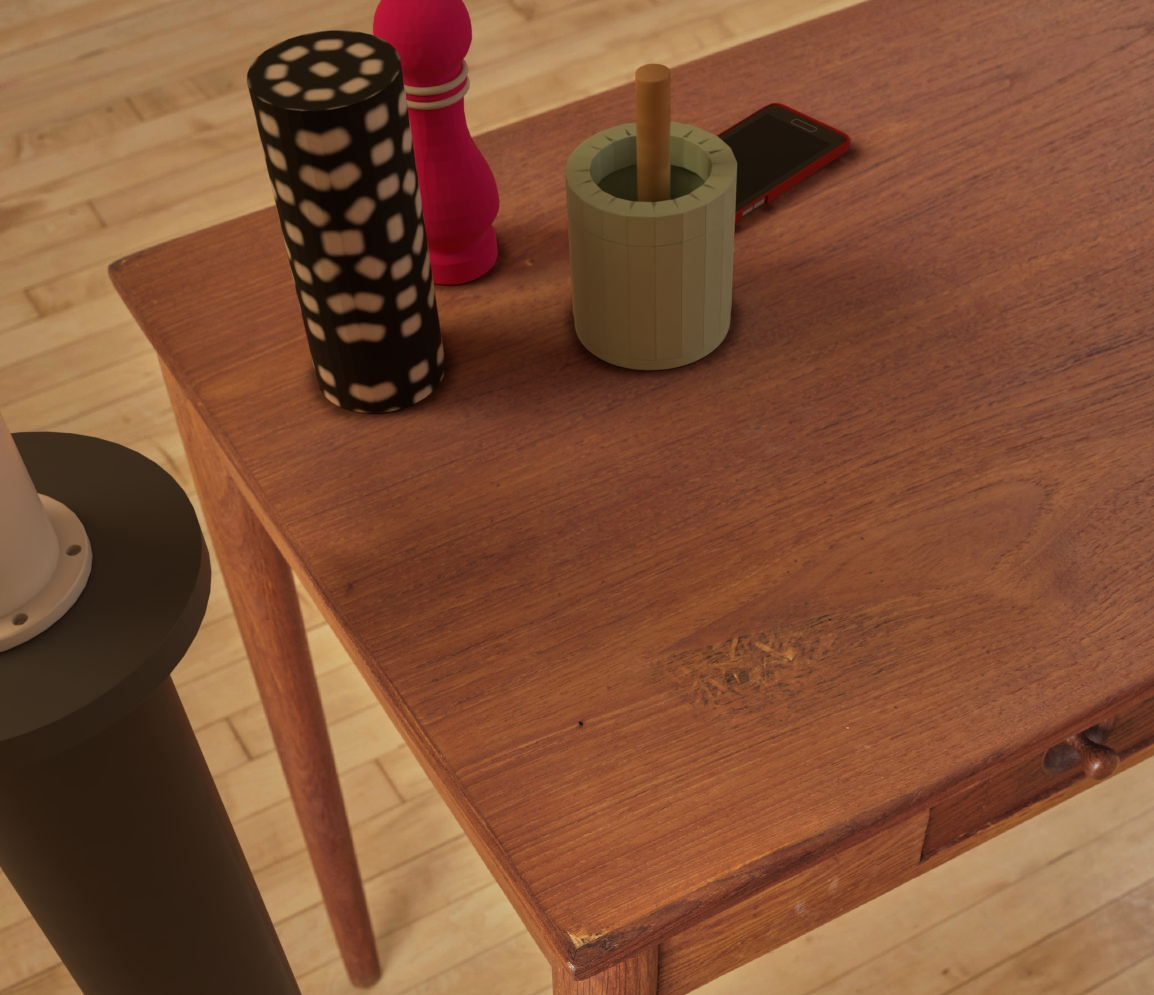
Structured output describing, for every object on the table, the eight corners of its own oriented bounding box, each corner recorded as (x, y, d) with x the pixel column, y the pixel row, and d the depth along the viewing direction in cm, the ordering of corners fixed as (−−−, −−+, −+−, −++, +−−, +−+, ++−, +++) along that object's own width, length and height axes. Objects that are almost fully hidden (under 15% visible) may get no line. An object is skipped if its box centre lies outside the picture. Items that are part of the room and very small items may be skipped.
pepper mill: (516, 277, 102) (488, -24, 86) (413, 299, 101) (364, 0, 85) (490, 219, 106) (458, -78, 90) (391, 240, 105) (340, -56, 89)
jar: (589, 381, 95) (581, 227, 86) (562, 286, 101) (552, 133, 92) (746, 357, 95) (754, 202, 87) (710, 264, 101) (714, 110, 93)
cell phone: (854, 149, 109) (855, 136, 108) (716, 238, 103) (717, 226, 102) (774, 111, 112) (774, 99, 111) (636, 196, 106) (636, 183, 106)
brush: (630, 333, 96) (624, 95, 83) (619, 296, 99) (611, 59, 86) (691, 324, 96) (695, 85, 84) (678, 287, 99) (680, 50, 86)
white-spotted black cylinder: (291, 375, 97) (215, 75, 81) (388, 314, 100) (333, 15, 84) (374, 431, 93) (312, 128, 77) (472, 367, 96) (432, 63, 80)
